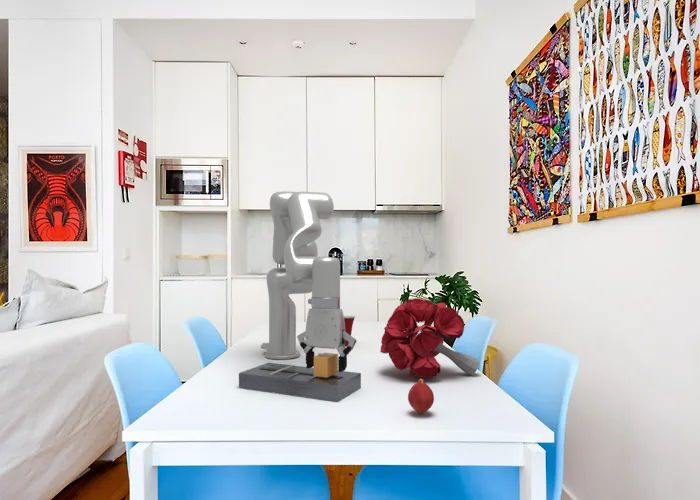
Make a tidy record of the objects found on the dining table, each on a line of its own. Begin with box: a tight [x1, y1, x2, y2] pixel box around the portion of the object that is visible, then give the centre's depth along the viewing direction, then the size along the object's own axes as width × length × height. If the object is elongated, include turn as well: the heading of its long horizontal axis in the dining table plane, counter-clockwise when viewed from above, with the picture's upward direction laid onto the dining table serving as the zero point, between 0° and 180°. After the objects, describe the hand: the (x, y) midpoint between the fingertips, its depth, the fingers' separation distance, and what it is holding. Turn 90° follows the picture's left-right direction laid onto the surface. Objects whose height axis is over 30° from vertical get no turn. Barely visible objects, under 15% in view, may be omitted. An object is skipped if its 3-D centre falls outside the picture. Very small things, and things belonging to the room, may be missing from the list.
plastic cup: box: [344, 315, 356, 347], centre depth 193 cm, size 11×11×12 cm
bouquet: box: [379, 297, 480, 379], centre depth 144 cm, size 22×24×30 cm
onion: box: [407, 378, 435, 415], centre depth 108 cm, size 6×6×8 cm
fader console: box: [238, 362, 362, 403], centre depth 130 cm, size 30×14×4 cm, turn 65°
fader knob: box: [313, 352, 339, 378], centre depth 127 cm, size 4×6×5 cm
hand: (326, 369), depth 127 cm, fingers open, 9 cm apart
